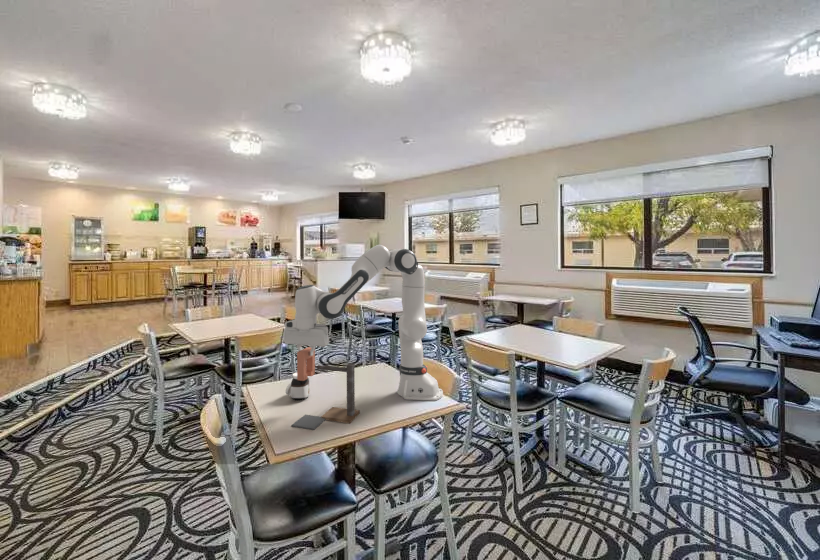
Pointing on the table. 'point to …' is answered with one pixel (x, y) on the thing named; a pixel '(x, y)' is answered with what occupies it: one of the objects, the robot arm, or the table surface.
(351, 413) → the stand
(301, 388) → the spread jar
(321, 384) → the table surface
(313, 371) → the link
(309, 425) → the coaster
